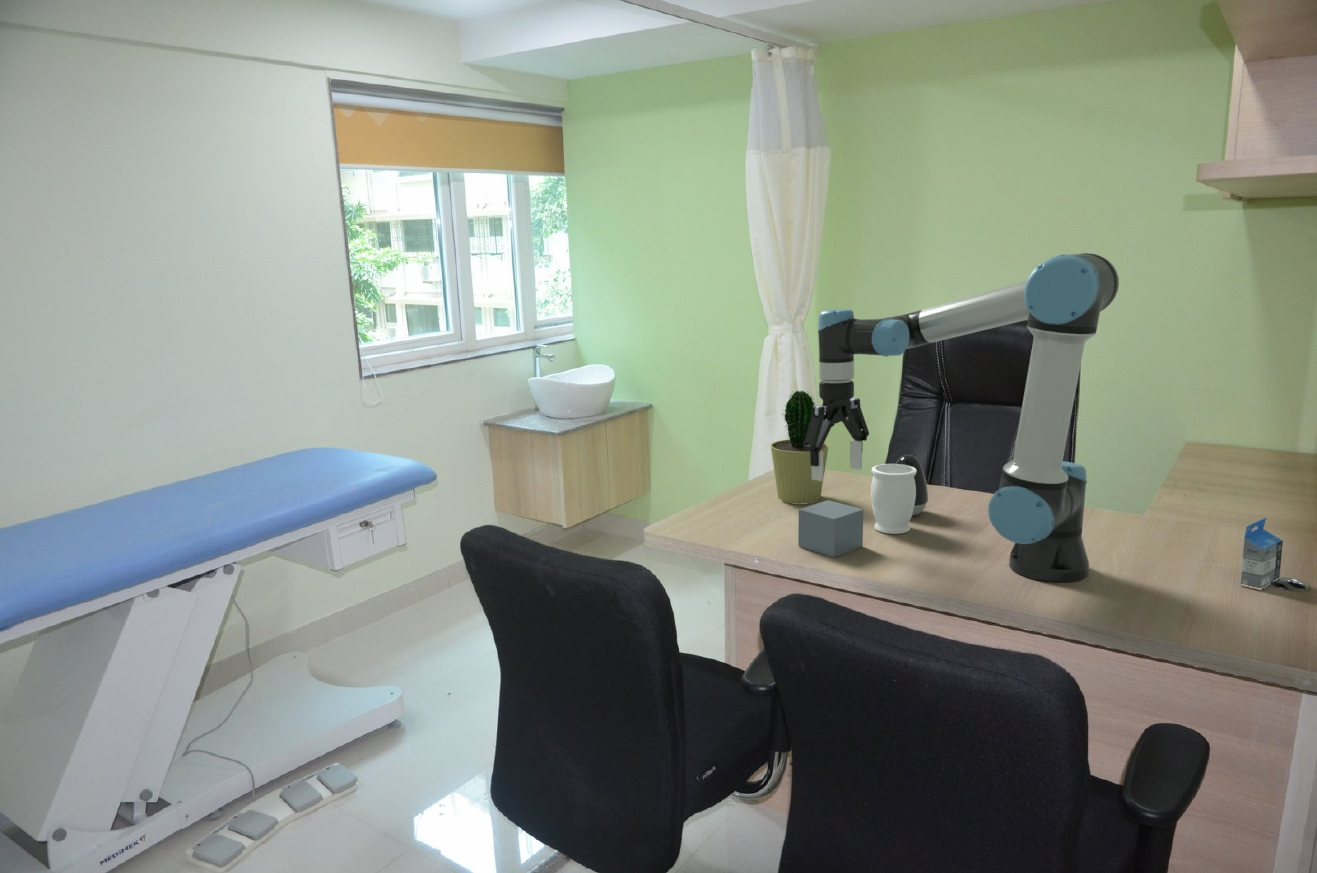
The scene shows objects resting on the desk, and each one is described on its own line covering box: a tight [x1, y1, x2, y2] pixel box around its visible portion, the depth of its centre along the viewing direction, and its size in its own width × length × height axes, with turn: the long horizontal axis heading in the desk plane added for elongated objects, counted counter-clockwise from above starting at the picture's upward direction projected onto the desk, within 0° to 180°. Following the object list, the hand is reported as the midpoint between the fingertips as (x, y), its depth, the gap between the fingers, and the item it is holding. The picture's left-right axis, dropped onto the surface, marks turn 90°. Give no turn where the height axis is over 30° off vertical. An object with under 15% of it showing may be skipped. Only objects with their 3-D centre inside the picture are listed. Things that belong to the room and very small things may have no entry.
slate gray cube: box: [797, 499, 864, 558], centre depth 201 cm, size 10×10×9 cm
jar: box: [870, 463, 916, 535], centre depth 211 cm, size 11×10×15 cm
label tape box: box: [1240, 517, 1284, 588], centre depth 173 cm, size 9×4×12 cm, turn 126°
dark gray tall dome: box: [895, 453, 929, 517], centre depth 222 cm, size 10×10×15 cm
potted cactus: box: [769, 389, 830, 504], centre depth 236 cm, size 15×15×30 cm
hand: (837, 474), depth 199 cm, fingers open, 13 cm apart
